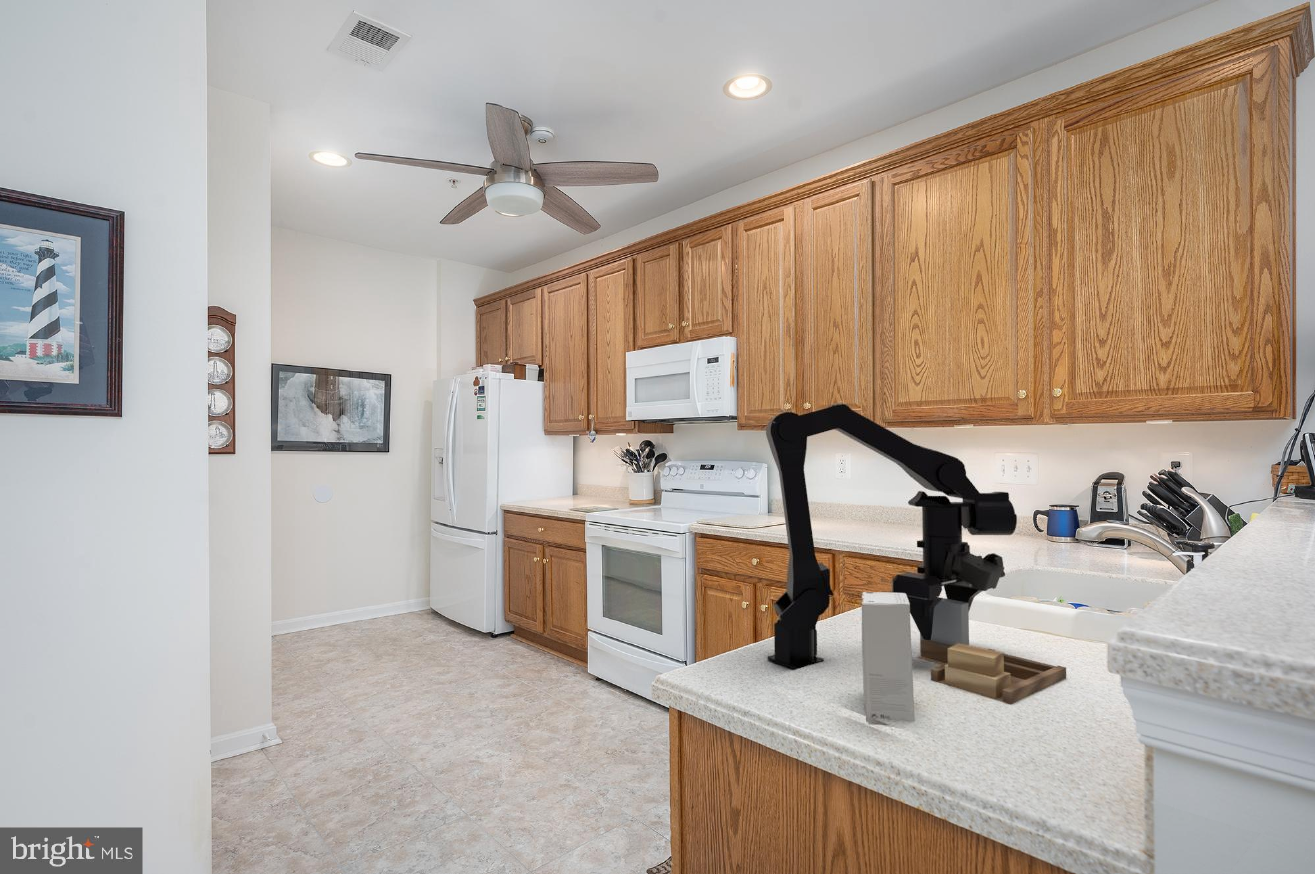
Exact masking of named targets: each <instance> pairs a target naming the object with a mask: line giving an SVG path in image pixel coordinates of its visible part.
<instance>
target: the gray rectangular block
mask: <svg viewBox="0 0 1315 874" xmlns="http://www.w3.org/2000/svg"><path fill="white" fill-rule="evenodd" d="M939 598H942V600H941V601H940V602H939V603H938V604H937V605H936V606H935V607H934V615H933V627H932V635H931V640H930V641H934V642H938V643H942V644H946V645H950V646H954V645H956V644H958V643H959V644H964V645H969V646H970V625H969V624H970V619H969V617H970V616H969V614H970V610H969V609H968V603H966V602H961V601H956V600H951V599H947V598H945V597H940V596H939ZM921 640H923V638H922V636H921V634H920V633H919V646H920V647H919V650H920V652H919V653H920V654H921Z"/></svg>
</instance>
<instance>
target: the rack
mask: <svg viewBox="0 0 1315 874" xmlns="http://www.w3.org/2000/svg"><path fill="white" fill-rule="evenodd" d="M988 649H989V650H994V651H996V650H995V649H991V648H988ZM1003 654H1004V672H1007V673H1010V674H1011V686H1010V687H1008V688H1006V689H1003V690H1002V691H1003V696H1001V697H999V698H997V699H994V698H991V697H988V696H984V695H981V694H978V693H975V692H971V691H968V690H965V689H961V688H958V687H955V686H951V685H948V684H945V665H948V663H947V664H944V665H941V664H940V665H938V666H936V667H933V668H931V669H930V681H933V682H935V683H939V684H943V685H946V686H949V687H952V688H955V689H959V690H961V691H965V692H969V693H972V694H975V695H979V696H981V697H984V698H988V699H992V700H995V701H998V702H1001V703H1005V704H1008V705H1012V704H1015V703H1017V702H1019V701H1021V700H1023V699H1026V698H1027V697H1030V696H1032V695H1034V694H1035V693H1038V692H1040V691H1043V690H1045V689H1047V688H1049V687H1051V686H1053V685H1055V684H1057V683H1060V682H1062V681H1064V680H1066V679H1067V667H1066V666H1062V665H1052V664H1048V663H1045V662H1040V661H1036V660H1031V659H1027V658H1024V657H1020V656H1015V655H1011V654H1006V653H1005V652H1003Z"/></svg>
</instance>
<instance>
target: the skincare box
mask: <svg viewBox="0 0 1315 874" xmlns="http://www.w3.org/2000/svg"><path fill="white" fill-rule="evenodd" d="M861 594H862V596H861V598H862V599H861V660H862V686H863V701H864V702H863V703H864V709H865V722H866V723H868V724H877V725H879V724H880V725H886V726H890V724H888V723H885V722H884V721H883V722H882V721H881V720H878V719H875V718H880V719H886V720H894V721H896V720H897V721H906V722H915V721H916V720H915V719H916V718H915V717H916V716H915V699H914V698H915V697H914V677H913V676H914V673H913V656H912V653H913V651H912V634H911V633H912V631H911V614H910V603H909V600H908V598H907V595H906V593H893V592H887V591H886V592H883V591H882V592H881V591H879V592H876V591H874V592H873V591H863V592H862V593H861Z"/></svg>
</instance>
